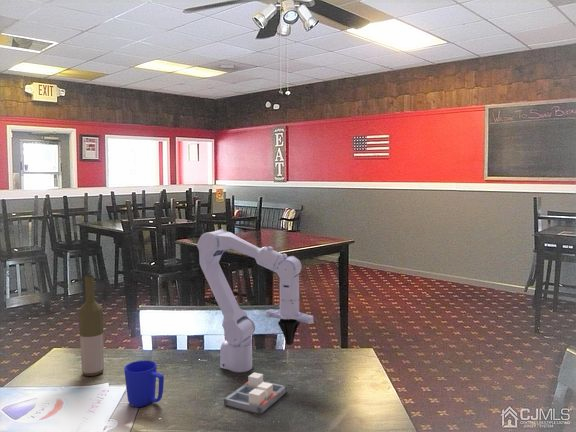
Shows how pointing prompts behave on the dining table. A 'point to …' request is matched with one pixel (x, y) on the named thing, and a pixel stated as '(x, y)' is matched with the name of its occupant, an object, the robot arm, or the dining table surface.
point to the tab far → (255, 379)
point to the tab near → (256, 397)
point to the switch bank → (242, 398)
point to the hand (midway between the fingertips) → (289, 343)
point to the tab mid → (266, 389)
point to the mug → (142, 383)
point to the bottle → (91, 332)
